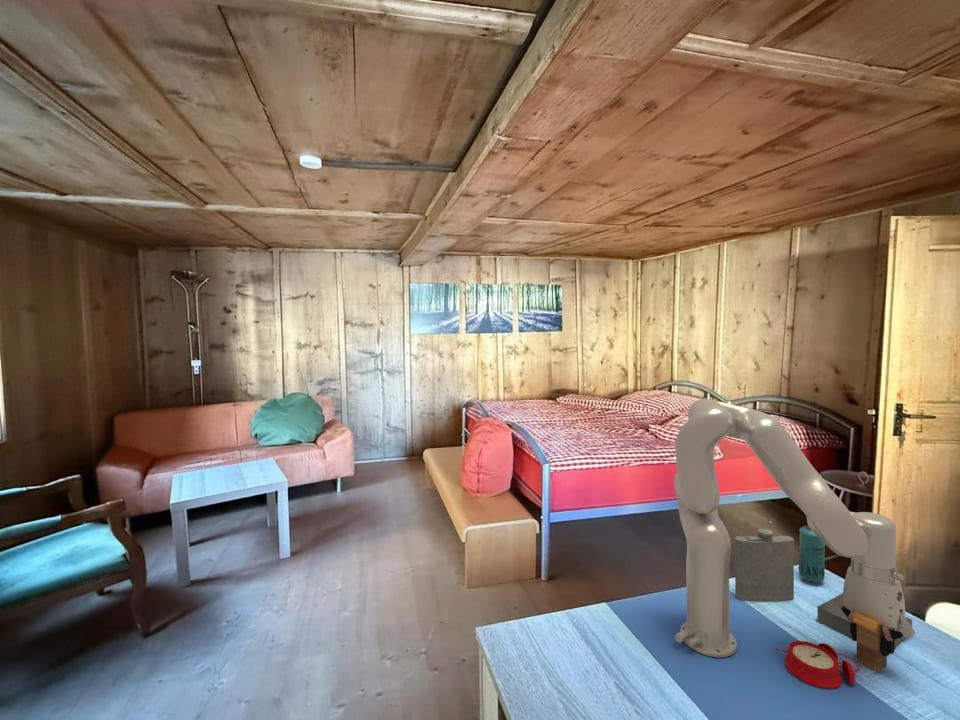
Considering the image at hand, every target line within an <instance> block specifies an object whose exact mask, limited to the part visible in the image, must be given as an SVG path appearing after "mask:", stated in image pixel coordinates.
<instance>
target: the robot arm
mask: <svg viewBox="0 0 960 720" xmlns="http://www.w3.org/2000/svg"><path fill="white" fill-rule="evenodd" d="M687 418H688V420H687V421H686V422H685V423H684V424H683V425H682V427H681V428H680V430H679V431H678V433H677V435H676V438H675V442H674V443H675V444H674V452H675V459H676V461H675V463H676V469H677V471H676V473H675V476H674V478H673V479H674V490H675V495H676V501H677V502H676V503H677V508H678V513H679V518H680V519H679V520H680V522H681V526H682V529H683V533H684V536H685V539H686V548H687V549H686V558H685V559H686V560H685V563H686V564H685V565H686V566H685V567H686V569H685V571H686V572H685V573H686V574H685V577H686V581H685V582H686V621H685V622H683V624H682V625H681V626H680V631H679V632H677V633H675V634H674V639H675V641H676V642H677V643H679V644H680V643H682V642H684V643H685V644H686V645H687V646H688V647H689V648H691V649H692V650H694V651H695V652H697V653H699V654H702V655H705V656H709V657H713V658H726V657H730V656H732V655H733V654H735V653H736V651H737V649H738V648H737V647H738V643H737V639H736V637H735V636H734V635H733V633H732V632H731V631H730V563H731V555H732V541H731V537H730V533H729V532H728V530H727V528H726V526H725V524H724V523H723V521H722V519H721V518H720V516H719V512H718V506H719V504H720V502H721V492H720V486H719V482H718V476H717V471H716V466H715V458H714V457H715V456H714V452H715V451H714V450H715V448H716V446H717V444H719V442H720V441H721V440H722V439H724V438H725V437H729V438H734V439H739V440H743V441H744V442H746V444H747V445H748V446H749V447H750V449H751V451H752V452H753V453H754V454H755V455H756V457H757V459H758V460H759V461H760V462H761V464H762V466H763V467H764V468H765V469H766V471H767V472H768V474H769V475H770V477H772V479H773V480H774V481H773V482H775V483H776V485H777V486H778V487H779V488H780V490H781V491H782V493H784V494H785V495H786V496H787V497H788V498H789V499H790V500H791V501H792V502H794V504H795V505H796V506H797V507H798V508H799V509H800V510H801V511H802V512H803V513H804V516H807V523H808V525H807V526H809V527H810V529H811V530H812V531H813V532H814V533H815V534H816V535H817V536H818V537H819V538H820V539H821V540H822V541H823V542H824V543H825V546H827V547H828V548H829V550H831V551H832V552H833V553H834V554H837V555H838V556H840V557H844V558H847V559H848V558H849V559H850V566H848V567H847V569H846V573H845V577H844V581H843V588H842V589H843V590H842V593H840V594H841V595H840V594H839V596H838V595H837V596H838V597H836V596H835V597H836V598H835V597H833V598H834V601H835V603H836V604H837V605H838V606H839V607H840V608H841V609H842V611H843V612H844V614H845V615H846V616H847V618H848V621H849V622H850V633H851V634H852V638H851V640H852V642H853V641H854V642H857V624H856V623H854V622H853V616H854V613H855V612H858V613H861V614H863V615H865V616H867V617H869V618H872V619H874V620H876V621H878V622H879V624H880V625H881V626H882V629H883V632H884V637H883V638H882V655H883V656H885V657H887V658H888V656H889V655H893V654H894V653H895V650H896V649H895V648H896V647H895V639H899V638H902V637H909V638H911V637H914V636H915V635H916V631H915V630H914V628H913V626H912V627H911V625H910V624H909V623H908V621H907V620H906V619H905V617H906V605H905V597H904V591H903V588H902V584H901V582H903V581H904V578H905V576H904V575H903V574H901V573H900V572H898V568H897V566H896V556H897V554H896V553H897V552H896V551H897V549H896V547H897V546H896V545H897V527H896V524H895V522H894V521H893V519H892V518H889V517H888V516H885V515H882V514H881V513H880V514H879V513H874V512H869V511H867V512H866V511H859V512H855V511H850V510H849V509H848V508H847V506H846V505H845V504H844V503H843V501H842V500H841V499H840V497H838V495H837V494H836V492H834V490H833V489H831V487H830V486H829V485H828V483H827V482H826V481H825V480H824V478H823V477H822V475H821V474H820V473H819V472H818V471H817V469H815V467H814V466H813V465H812V464H811V462H810V461H809V460H808V458H807V457H806V455H805V454H804V453H803V452H802V450H801V448H799V446H798V445H797V443H796V442H795V440H794V439H793V438H792V436H791V435H790V433H788V431H787V429H786V428H785V427H784V425H782V423H781V422H780V421H779V420H777V419H776V418H775V417H773V416H771V415H769V414H767V413H765V412H763V411H760V410H757V409H752V408H748V407H743V406H740V405H737V404H736V405H735V404H731V403H728V402H724V401H719V400H716V399H712V398H701V399H697V400H696V401H694V402H693V403H691V405H690V406H689V408H688V410H687ZM898 623H899V624H900V626H901V627H902V630H901V629H899V630H896V628H897V624H898Z"/></svg>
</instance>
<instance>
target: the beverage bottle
mask: <svg viewBox="0 0 960 720" xmlns="http://www.w3.org/2000/svg"><path fill="white" fill-rule="evenodd" d="M803 524H805V525H804V526H802V527H800V528H799V550H798V553H799V555H798V573H799V576H800V577H802V579H804V580H806V581H810V582H815V583H821V582H823V581H824V580H825V578H826V577H825V575H826V574H825V568H826V565H825V563H826V559H825V555H826V553H825V552H826V544H825V543H824V542H823V541H822V540H821V539H820V538H819V537H818V536H817V535H816V534H815V533H814V532H813V531H812V530H811V529H810V527H809V526H808V523H807V516H806V515H804V519H803Z"/></svg>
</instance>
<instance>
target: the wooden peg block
mask: <svg viewBox="0 0 960 720" xmlns="http://www.w3.org/2000/svg"><path fill="white" fill-rule="evenodd" d="M853 622H854V623H856V624H857V641H856V651H855V652H856V655H855V656H856V662H855V663H858V664H861V665H862V666H863V667H866V668H868V669H869V670H871V671H873V672H874V673H877V674H879V673H880V672H882V671H883V670H885V669H886V668H887V666H888V656H887V657H885V656H883V655H882V638H883V637H884V632H883V629H882V626H881V625H880V624H879V622H878V621H876V620H874V619H872V618H869V617H867V616H865V615H863V614H861V613H858V612H855V613H854V616H853Z"/></svg>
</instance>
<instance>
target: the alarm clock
mask: <svg viewBox="0 0 960 720" xmlns="http://www.w3.org/2000/svg"><path fill="white" fill-rule="evenodd" d="M775 650H777V651H782V652H784V653H787V654H786V655H785V657H784V666H785V667H786V668H787V669H786V671H787V673H789V674H792V675H793V676H795V677H796V678H797V679H798V680H801V681H802V682H804V683H806V684H808V685H811V686H814V687H817V688H819V689H827V690H834V689H837V688H839V687H841V686H842V684H843V677H846V678H847V679H849V681H848V683H847V684H848V685H854V683H855V682H856V675H858V673H857V672H858V671H860V666H859V664H857V662H855V660H853V659H852V658H850V656H847V655H845V654H842V653H837V651H836V650H835V648H834V647H832V646H831V645H830V644H827V643H826V642H825V643H824V642H820V643H818V644H816V643H813V642H809V641H805V640H796V641H791V642H790V643H789V644H788V647H787V650H784V649H781V648H778V647H775ZM839 656H842V657H845V658H847V659H848V660H849V661H850V662H853V663H854V664H855V665H856V667H857V669H854V667H853V665H852V664H851V663H850V662H849V661H847V660H842V661H841V662H840V661H839ZM840 669H841V672H840ZM842 676H843V677H842Z"/></svg>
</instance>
